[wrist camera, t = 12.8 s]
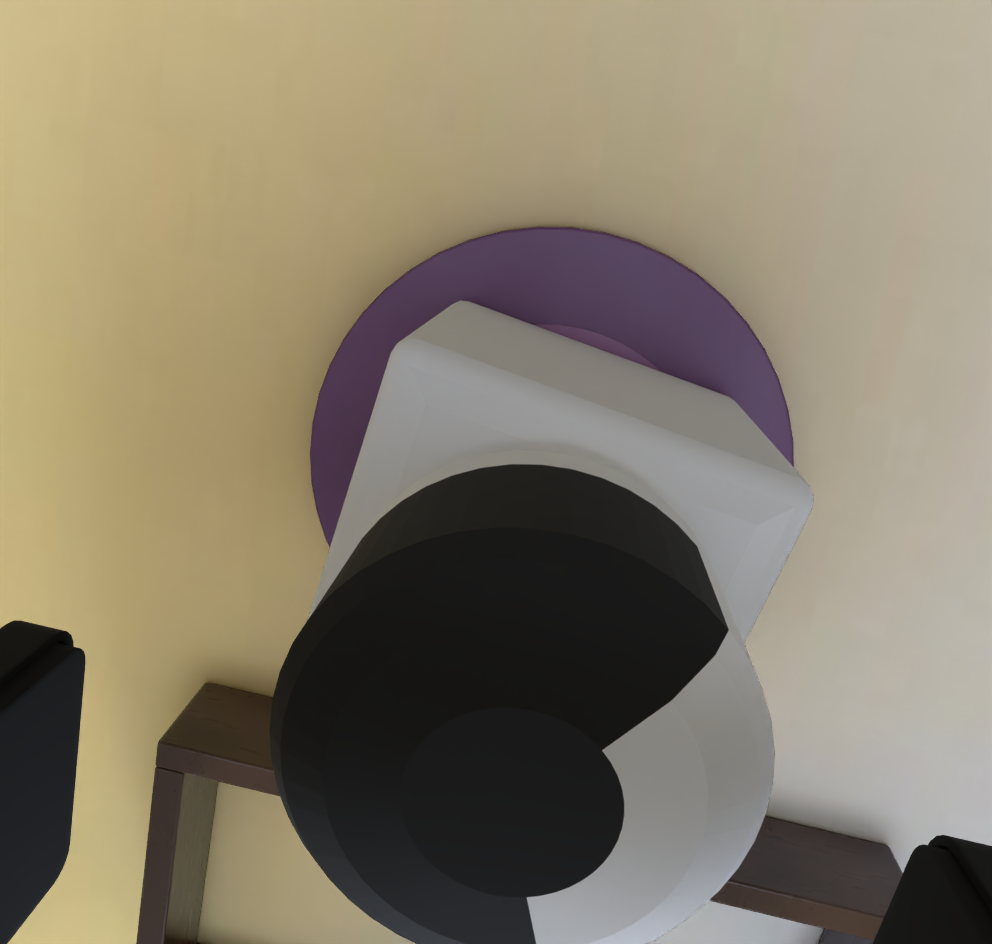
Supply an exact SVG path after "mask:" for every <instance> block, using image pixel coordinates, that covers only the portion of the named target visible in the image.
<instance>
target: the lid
mask: <svg viewBox="0 0 992 944" xmlns="http://www.w3.org/2000/svg"><path fill="white" fill-rule="evenodd" d="M460 300H461V301H469V302H472V303H475V304H478V305H480V306H483V307H486V308H489V309H491V310H494V311H497V312H499V313H502V314H505V315H508V316H510V317H513V318H516V319H519V320H521V321H524V322H527V323H529V324H532V325H535V326H538V327H540V328H543V329H546V330H548V331H551V332H554V333H557V334H559V335H562V336H565V337H568V338H570V339H573V340H576V341H578V342H581V343H584V344H587V345H589V346H592V347H595V348H598V349H600V350H603V351H606V352H608V353H611V354H614V355H617V356H619V357H622V358H625V359H628V360H630V361H633V362H636V363H638V364H641V365H644V366H647V367H649V368H652V369H655V370H657V371H660V372H663V373H666V374H668V375H671V376H674V377H677V378H679V379H682V380H685V381H687V382H690V383H693V384H696V385H698V386H701V387H704V388H707V389H709V390H712V391H715V392H717V393H720V394H723V395H726V396H728V397H730V398H731V399H733V400H734V401H735V402H736V403H737V404H738V405H739V406H740V407H741V408H742V410H743V411H744V412H745V413H746V414H747V415H748V416H749V417H750V419H751V420H752V421H753V422H754V423H755V424H756V425H757V426H758V428H759V429H760V430H761V431H762V432H763V433H764V434H765V435H766V437H767V438H768V439H769V440H770V441H771V442H772V443H773V445H774V446H775V447H776V448H777V449H778V450H779V451H780V452H781V454H782V455H783V456H784V457H785V458H786V459H787V460H788V461H789V463H790V464H791V465H792V466H793V467H794V460H793V437H792V430H791V424H790V418H789V411H788V407H787V404H786V401H785V398H784V394H783V391H782V388H781V385H780V381H779V378H778V376H777V374H776V372H775V370H774V368H773V366H772V364H771V362H770V359H769V357H768V355H767V353H766V351H765V349H764V348H763V346H762V345H761V343H760V342H759V340H758V339H757V337H756V335H755V334H754V332H753V331H752V329H751V328H750V326H749V325H748V323H747V322H746V321H745V320H744V319H743V317H742V316H741V315H740V314H739V313H738V312H737V311H736V310H735V308H734V307H733V306H732V305H731V304H730V303H729V302H728V300H727V299H726V298H725V297H724V296H723V295H721V294H720V293H719V292H718V291H717V290H716V289H714V288H713V287H712V286H711V285H710V284H709V283H707V282H706V281H705V280H704V279H703V278H701V277H700V276H699V275H698V274H696V273H695V272H693V271H691V270H690V269H688V268H687V267H685V266H684V265H682V264H680V263H679V262H677V261H676V260H674V259H673V258H671V257H669V256H667V255H665V254H663V253H660V252H658V251H656V250H654V249H652V248H649V247H647V246H645V245H643V244H641V243H638V242H635V241H632V240H629V239H625V238H622V237H619V236H615V235H612V234H609V233H605V232H600V231H593V230H587V229H580V228H574V227H531V228H523V229H515V230H506V231H501V232H498V233H494V234H490V235H486V236H482V237H478V238H475V239H471V240H468V241H466V242H463V243H461V244H459V245H456V246H454V247H451V248H449V249H446V250H444V251H442V252H439V253H438V254H436V255H434V256H432V257H431V258H429V259H427V260H426V261H424V262H422V263H420V264H419V265H417V266H415V267H414V268H412V269H410V270H409V271H408V272H406V273H405V274H404V275H403V276H401V277H400V278H399V279H398V280H396V281H395V282H394V283H392V284H391V285H390V286H389V287H387V288H386V289H385V290H384V291H383V292H382V293H381V294H380V295H379V296H378V297H377V298H376V299H375V300H374V301H373V302H372V303H371V304H370V306H369V307H368V308H367V309H366V310H365V311H364V312H363V313H362V314H361V316H360V317H359V318H358V320H357V321H356V323H355V324H354V325H353V327H352V328H351V329H350V331H349V332H348V333H347V335H346V336H345V338H344V339H343V341H342V343H341V345H340V347H339V349H338V351H337V352H336V354H335V356H334V358H333V360H332V362H331V364H330V366H329V368H328V371H327V374H326V377H325V379H324V382H323V385H322V387H321V390H320V393H319V396H318V401H317V405H316V410H315V414H314V419H313V424H312V436H311V448H310V461H311V481H312V487H313V493H314V498H315V504H316V509H317V513H318V516H319V519H320V522H321V526H322V529H323V532H324V535H325V538H326V540H327V543H328V545H329V547H330V546H331V543H332V540H333V536H334V533H335V530H336V527H337V524H338V520H339V517H340V514H341V511H342V508H343V504H344V501H345V498H346V495H347V492H348V488H349V485H350V482H351V479H352V476H353V472H354V469H355V466H356V463H357V460H358V456H359V453H360V450H361V447H362V444H363V440H364V437H365V434H366V431H367V428H368V424H369V421H370V418H371V415H372V412H373V408H374V405H375V402H376V399H377V396H378V392H379V389H380V386H381V383H382V380H383V376H384V373H385V370H386V367H387V363H388V360H389V357H390V354H391V352H392V350H393V349H394V347H395V346H396V344H397V343H398V342H400V341H401V340H403V339H404V338H405V337H407V336H408V335H410V334H411V333H412V332H414V331H415V330H417V329H418V328H420V327H421V326H422V325H424V324H425V323H427V322H428V321H429V320H431V319H432V318H434V317H435V316H437V315H438V314H439V313H441V312H442V311H444V310H445V309H446V308H448V307H449V306H451V305H452V304H454V303H456V302H458V301H460Z"/></svg>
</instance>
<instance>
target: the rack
mask: <svg viewBox="0 0 992 944" xmlns="http://www.w3.org/2000/svg"><path fill="white" fill-rule="evenodd" d="M272 700H273V698H269V697H265V696H261V695H257V694H252V693H248V692H244V691H240V690H236V689H232V688H227V687H223V686H219V685H215V684H211V683H205V684H204V685H203V686H202V687H201V689H200V690H199V691H198V693H197V694H196V695H195V696H194V698H193V699H192V700H191V701H190V703H189V704H188V705H187V706H186V708H185V709H184V710H183V711H182V713H181V714H180V715H179V716H178V718H177V719H176V720H175V722H174V723H173V724H172V725H171V727H170V728H169V729H168V730H167V732H166V733H165V734H164V735H163V737H162V738H161V739H160V740H159V742H158V747H157V757H156V768H155V776H154V785H153V794H152V804H151V813H150V822H149V832H148V841H147V850H146V860H145V869H144V878H143V888H142V897H141V907H140V916H139V925H138V935H137V944H198V943H196V941H197V933H198V926H199V919H200V911H201V904H202V896H203V889H204V882H205V874H206V867H207V859H208V852H209V844H210V837H211V830H212V822H213V815H214V807H215V800H216V793H217V785H218V781H219V782H223V783H227V784H231V785H236V786H240V787H244V788H248V789H252V790H256V791H260V792H264V793H269V794H273V795H277V796H280V794H279V791H278V788H277V784H276V779H275V775H274V770H273V766H272V761H271V748H270V732H269V730H270V719H271V709H272ZM902 875H903V873H902V871H901V869H900V867H899V865H898V863H897V861H896V859H895V857H894V855H893V853H892V851H891V849H890V848H889V847H888V846H885V845H881V844H876V843H872V842H868V841H864V840H860V839H856V838H851V837H847V836H843V835H839V834H835V833H831V832H826V831H822V830H818V829H814V828H810V827H806V826H802V825H797V824H793V823H789V822H785V821H781V820H777V819H772V818H768V817H764V820H763V822H762V825H761V827H760V830H759V832H758V834H757V837H756V839H755V842H754V843H753V845H752V847H751V848H750V850H749V852H748V853H747V855H746V857H745V858H744V860H743V861H742V863H741V865H740V866H739V868H738V869H737V870H736V871H735V873H734V874H733V875H732V876H731V877H730V879H729V880H728V881H727V882H726V883H725V885H724V886H723V887H722V888H721V889H720V891H718V892H717V893H716V894H715V895H714V896H713V897H712V898H711V899H710V900H709V901H713V902H717V903H721V904H725V905H730V906H734V907H738V908H742V909H746V910H750V911H754V912H758V913H762V914H767V915H771V916H775V917H779V918H783V919H787V920H791V921H795V922H800V923H804V924H808V925H812V926H816V927H820V928H824V929H825V930H824V933H823V935H822V937H821V940H820V942H819V944H873V942H874V939H875V937H876V935H877V932H878V930H879V928H880V926H881V923H882V921H883V919H884V916H885V914H886V912H887V909H888V907H889V905H890V902H891V900H892V898H893V896H894V893H895V891H896V889H897V886H898V884H899V882H900V879H901V877H902Z"/></svg>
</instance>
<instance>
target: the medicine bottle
mask: <svg viewBox="0 0 992 944" xmlns="http://www.w3.org/2000/svg"><path fill="white" fill-rule="evenodd" d="M813 500H814V495H813V493H812V490H811V488H810V485H809V484H808V483H807V482H806V481H805V479H804V478H803V477H802V476H801V475H800V474H799V473H798V472H797V470H796V469H795V468H794V467H793V466H792V465H791V464H790V463H789V461H788V460H787V459H786V458H785V457H784V456H783V455H782V454H781V452H780V451H779V450H778V449H777V448H776V447H775V446H774V445H773V443H772V442H771V441H770V440H769V439H768V438H767V437H766V435H765V434H764V433H763V432H762V431H761V430H760V429H759V428H758V426H757V425H756V424H755V423H754V422H753V421H752V420H751V419H750V417H749V416H748V415H747V414H746V413H745V412H744V411H743V410H742V408H741V407H740V406H739V405H738V404H737V403H736V402H735V401H734V400H733V399H731V398H730V397H728V396H726V395H723V394H720V393H717V392H715V391H712V390H709V389H707V388H704V387H701V386H698V385H696V384H693V383H690V382H687V381H685V380H682V379H679V378H677V377H674V376H671V375H668V374H666V373H663V372H660V371H657V370H655V369H652V368H649V367H647V366H644V365H641V364H638V363H636V362H633V361H630V360H628V359H625V358H622V357H619V356H617V355H614V354H611V353H608V352H606V351H603V350H600V349H598V348H595V347H592V346H589V345H587V344H584V343H581V342H578V341H576V340H573V339H570V338H568V337H565V336H562V335H559V334H557V333H554V332H551V331H548V330H546V329H543V328H540V327H538V326H535V325H532V324H529V323H527V322H524V321H521V320H519V319H516V318H513V317H510V316H508V315H505V314H502V313H499V312H497V311H494V310H491V309H489V308H486V307H483V306H480V305H478V304H475V303H472V302H469V301H461V300H460V301H458V302H456V303H454V304H452V305H451V306H449V307H448V308H446V309H445V310H444V311H442V312H441V313H439V314H438V315H437V316H435V317H434V318H432V319H431V320H429V321H428V322H427V323H425V324H424V325H422V326H421V327H420V328H418V329H417V330H415V331H414V332H412V333H411V334H410V335H408V336H407V337H405V338H404V339H403V340H401V341H400V342H398V343H397V344H396V346H395V347H394V349H393V350H392V352H391V354H390V357H389V360H388V363H387V367H386V370H385V373H384V376H383V380H382V383H381V386H380V389H379V392H378V396H377V399H376V402H375V405H374V408H373V412H372V415H371V418H370V421H369V424H368V428H367V431H366V434H365V437H364V440H363V444H362V447H361V450H360V453H359V456H358V460H357V463H356V466H355V469H354V472H353V476H352V479H351V482H350V485H349V488H348V492H347V495H346V498H345V501H344V504H343V508H342V511H341V514H340V517H339V520H338V524H337V527H336V530H335V533H334V536H333V540H332V543H331V546H330V549H329V552H328V556H327V559H326V562H325V565H324V568H323V572H322V575H321V578H320V581H319V584H318V588H317V591H316V594H315V597H314V600H313V604H312V607H311V610H310V613H309V616H308V620H307V622H306V624H305V625H304V627H303V628H302V630H301V631H300V633H299V634H298V636H297V637H296V639H295V640H294V642H293V644H292V646H291V648H290V650H289V652H288V655H287V657H286V659H285V661H284V664H283V666H282V668H281V670H280V673H279V677H278V681H277V685H276V688H275V692H274V696H273V700H272V709H271V719H270V730H269V732H270V748H271V761H272V766H273V770H274V775H275V779H276V784H277V788H278V791H279V794H280V797H281V799H282V802H283V804H284V807H285V810H286V812H287V815H288V817H289V819H290V821H291V823H292V825H293V826H294V828H295V830H296V832H297V834H298V835H299V837H300V839H301V841H302V843H303V844H304V846H305V847H306V848H307V850H308V851H309V852H310V854H311V855H312V857H313V858H314V859H315V861H316V862H317V863H318V865H319V866H320V867H321V869H322V870H323V871H324V873H325V874H326V875H327V877H328V878H329V879H330V880H331V881H332V882H333V883H334V884H335V885H336V886H337V888H338V889H339V890H340V891H341V892H342V893H343V894H344V895H345V896H346V897H347V898H348V899H349V900H350V901H351V902H353V903H354V904H355V905H356V906H358V907H359V908H360V909H361V910H363V911H364V912H365V913H366V914H368V915H369V916H370V917H371V918H372V919H374V920H376V921H377V922H379V923H380V924H382V925H384V926H385V927H387V928H388V929H390V930H391V931H393V932H395V933H396V934H398V935H400V936H402V937H404V938H406V939H408V940H410V941H412V942H414V943H416V944H647V943H649V942H651V941H653V940H655V939H657V938H659V937H661V936H663V935H664V934H666V933H667V932H669V931H670V930H672V929H673V928H675V927H676V926H678V925H679V924H681V923H682V922H684V921H685V920H686V919H688V918H689V917H690V916H691V915H692V914H694V913H695V912H696V911H697V910H698V909H699V908H701V907H702V906H703V905H704V904H705V903H706V902H707V901H708V900H710V899H711V898H712V897H713V896H714V895H715V894H716V893H717V892H718V891H720V889H721V888H722V887H723V886H724V885H725V883H726V882H727V881H728V880H729V879H730V877H731V876H732V875H733V874H734V873H735V871H736V870H737V869H738V868H739V866H740V865H741V863H742V861H743V860H744V858H745V857H746V855H747V853H748V852H749V850H750V848H751V847H752V845H753V843H754V842H755V839H756V837H757V834H758V832H759V830H760V827H761V825H762V822H763V820H764V817H765V815H766V812H767V807H768V803H769V799H770V794H771V790H772V785H773V774H774V756H775V750H774V741H773V732H772V723H771V718H770V715H769V711H768V707H767V704H766V700H765V697H764V693H763V690H762V687H761V685H760V682H759V680H758V677H757V675H756V672H755V670H754V667H753V665H752V662H751V660H750V657H749V655H748V652H747V650H746V647H745V645H744V643H745V641H746V639H747V637H748V635H749V633H750V631H751V629H752V627H753V625H754V623H755V621H756V619H757V617H758V615H759V613H760V611H761V609H762V607H763V605H764V603H765V601H766V599H767V597H768V595H769V593H770V591H771V589H772V587H773V585H774V583H775V581H776V579H777V577H778V575H779V573H780V571H781V569H782V568H783V566H784V564H785V562H786V560H787V558H788V556H789V554H790V552H791V550H792V548H793V546H794V544H795V542H796V540H797V538H798V536H799V534H800V532H801V530H802V528H803V526H804V524H805V522H806V520H807V518H808V516H809V514H810V512H811V510H812V505H813Z"/></svg>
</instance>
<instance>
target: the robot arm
mask: <svg viewBox="0 0 992 944" xmlns="http://www.w3.org/2000/svg"><path fill="white" fill-rule="evenodd" d="M84 672H85V654H84V651H83V650H82V649H80V648H76V647H74V645H73V639H72V636H71V635H70V634H69V633H68V632H67V631H63V630H58V629H54V628H50V627H45V626H41V625H37V624H32V623H28V622H24V621H12V622H10V623H8V624H6V625H5V626H3V627H2V628H0V944H7V943H8V942H9V941H10V939H11V938H12V937H13V935H14V934H15V933H16V932H17V930H18V929H19V928H20V926H21V925H22V924H23V923H24V921H25V920H26V919H27V917H28V916H29V915H30V914H31V912H32V911H33V910H34V909H35V907H36V906H37V905H38V903H39V902H40V901H41V900H42V898H43V897H44V896H45V894H46V893H47V892H48V891H49V889H50V888H51V887H52V885H53V884H54V882H55V881H56V880H57V878H58V876H59V874H60V872H61V871H62V869H63V866H64V864H65V861H66V858H67V855H68V852H69V846H70V836H71V825H72V813H73V801H74V790H75V778H76V766H77V754H78V743H79V731H80V719H81V708H82V696H83V684H84ZM873 944H992V846H988V845H984V844H980V843H975V842H971V841H967V840H962V839H958V838H954V837H950V836H945V835H941V836H936V837H935V838H934V839H932V840H931V841H930V843H929V844H928V845H919V846H918V847H917V848H915V849H914V851H913V853H912V854H911V856H910V859H909V861H908V863H907V866H906V868H905V870H904V873H903V875H902V877H901V879H900V882H899V884H898V886H897V889H896V891H895V893H894V896H893V898H892V900H891V902H890V905H889V907H888V909H887V912H886V914H885V916H884V919H883V921H882V923H881V926H880V928H879V930H878V932H877V935H876V937H875V939H874V942H873Z"/></svg>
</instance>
